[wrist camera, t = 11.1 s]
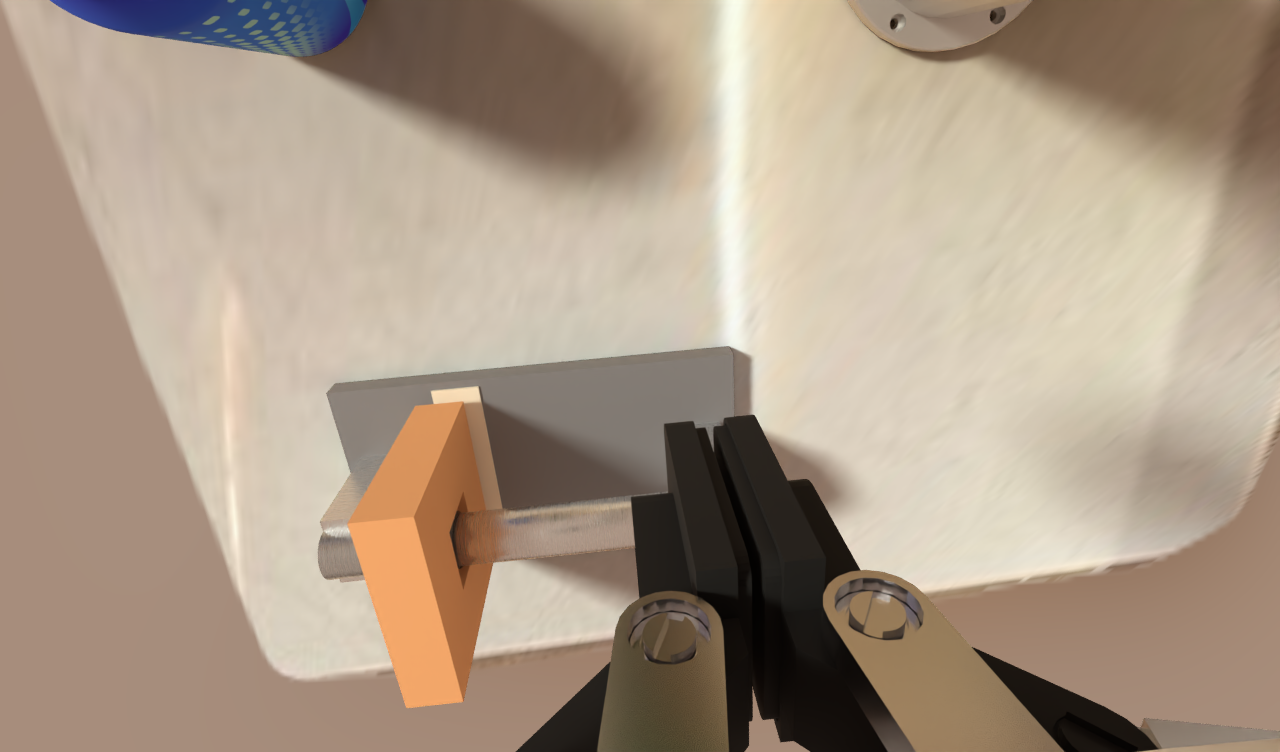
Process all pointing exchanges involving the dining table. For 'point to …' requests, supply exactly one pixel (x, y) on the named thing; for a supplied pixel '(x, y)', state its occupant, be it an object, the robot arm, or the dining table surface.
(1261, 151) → the dining table surface
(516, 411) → the base board
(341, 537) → the pipe
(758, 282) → the dining table surface
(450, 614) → the collar
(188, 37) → the beer can
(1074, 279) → the dining table surface
